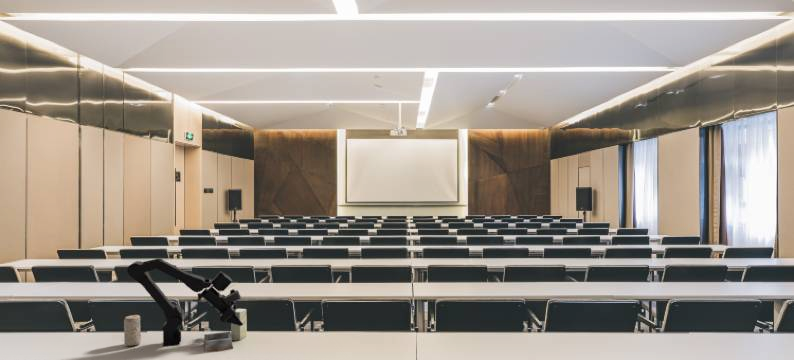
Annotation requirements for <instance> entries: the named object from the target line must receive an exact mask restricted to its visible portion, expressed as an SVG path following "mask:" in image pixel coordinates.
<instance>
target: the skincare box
mask: <svg viewBox="0 0 794 360" xmlns="http://www.w3.org/2000/svg"><path fill="white" fill-rule="evenodd" d="M236 316H237V317H238V318H239V320H240V321H241V322H242V323H243V325H242V326H239V325H236V324H232V323H230V325H231V326H230V333H231V337H232V341H241V340H243V339H244V338H245V339H246V338H247V335H248V333H247V330H248V329H247V328H248V327H247V326H248V325H247V323H248V321H247V309H246V308H236Z"/></svg>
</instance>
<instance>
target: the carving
mask: <svg viewBox="0 0 794 360" xmlns="http://www.w3.org/2000/svg"><path fill="white" fill-rule="evenodd" d="M123 329H124V330H123V332H124V333H123V337H124V339H123V340H124V341H123V342H124V345H125V346H126V347H131V346H136V345H140V344H141V341H142V335H141V316H140V315H139V314H132V315H128V316H125V318H124V320H123Z"/></svg>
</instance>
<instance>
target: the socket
mask: <svg viewBox="0 0 794 360" xmlns="http://www.w3.org/2000/svg"><path fill="white" fill-rule="evenodd" d="M203 337H204V338H203V352H204V353H208V352H209V353H210V352H216V351H218V352H219V351H226V350H233V349H234V346H233V340H232V337H231V331H225V332H224V331H223V332H214V333H207V334H205V333H204V334H203Z"/></svg>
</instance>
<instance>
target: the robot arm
mask: <svg viewBox="0 0 794 360" xmlns="http://www.w3.org/2000/svg"><path fill="white" fill-rule="evenodd" d="M153 270H158V271H160V272H162V273H165V274H166V275H168V276H171V277H172V278H174V279H176V280H178V281H180V282H182V283H183V284H184V285H185V286H186V287H187V288H188V289H190V290H191V291H193V292H194V293H197V301H201V300H202V299H204V300H205V301H206V302H207V303H208V304H209V305H211V307H212V308H213V309H215V310H216V311H218V313H219V315H220V316H219V320H220V322H222V323H228V324H231V323H232V324H236V325H239V326H242V325H243V323H242V322H241V321H240V320H239V318H238V317H237V316H236V309H237V303H236V301H239V300H241V299H242V298H241V297H242V295H241V294H240V292H239V290H236V289H234V288H233V289H231V290H230V291H229V293H228V294H226V295H225V294H221V293H220V292H223V291H225V290H226V289H227V288H228V287H229V286H230V285H231V284H232V283H233V282H234V281H233V279H232V278H231V277H230V276H229V275H228V274H226V273H224V272H223V271H219V272H218V274H217V275H216V276H215V277H214V278H213V279H211V278H205V277H203V276H201V275H197V274H194V273H190V272H187V271H185V270H183V269H182V268H179V267H177V266H176V265H173V264H172V263H169V262H168V261H166V260H164V259H162V258H161V257H157V258H155V259H150V260H146V261H140V260H137V261H134V262H132V263H131V264H130V265H129V266H128V267H127V270H126V272H127V273H126V274H127V275H128V276H129V277H130V278H131V279H132V280H134V281H135V282H136V283H138V284H140V285H141V286H142V287H143V288H144V289H145V290H146V292H147V294H148V295H149V296H150V297H151V299H153V300H154V302H155V303H156V304H157V305H158V307H159V308H160V309H161V310H162V312H163V314H164V317H165V319H166V321H165V322H164V324H163V326H161V327H162V336H163V337H162V338H163V339H162V347H169V346H179V345H180V344H181V342H182V330H180V326H181V325H182V323H183V322H184V320H185V317H186V316H185V315H186V314H185V309H183V308H182V307H181V306H180V304H179V303H177V304H176V305H175V304H173V303H172V302H171V301H170V300H169V298H168V297H167V296H166V295H165V293H164V292H163V291H162V290H161V288H160V287H159V286H158V285H157V284H156V282H155V281H154V279H152V277H151V275H150V273H149V272H151V271H153Z"/></svg>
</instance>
